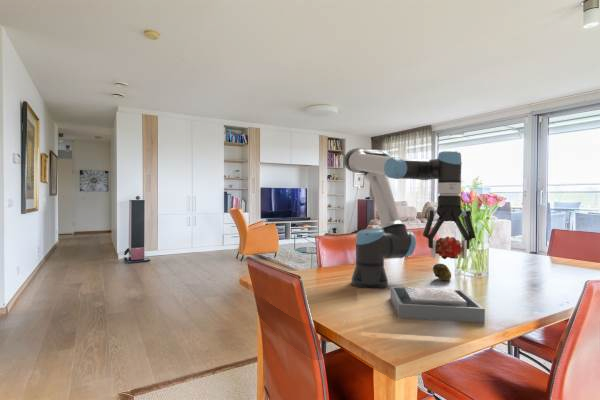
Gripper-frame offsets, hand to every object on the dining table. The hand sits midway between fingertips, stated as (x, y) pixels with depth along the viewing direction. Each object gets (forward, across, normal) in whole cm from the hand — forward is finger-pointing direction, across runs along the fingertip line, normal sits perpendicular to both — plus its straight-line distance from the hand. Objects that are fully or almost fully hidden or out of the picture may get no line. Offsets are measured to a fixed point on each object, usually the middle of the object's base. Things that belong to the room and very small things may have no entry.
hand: (448, 257), depth 120 cm
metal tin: (+15, -9, -12) cm, 21 cm away
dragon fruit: (0, 0, 0) cm, 0 cm away
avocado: (+16, +8, +32) cm, 37 cm away
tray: (+16, -9, -12) cm, 22 cm away
